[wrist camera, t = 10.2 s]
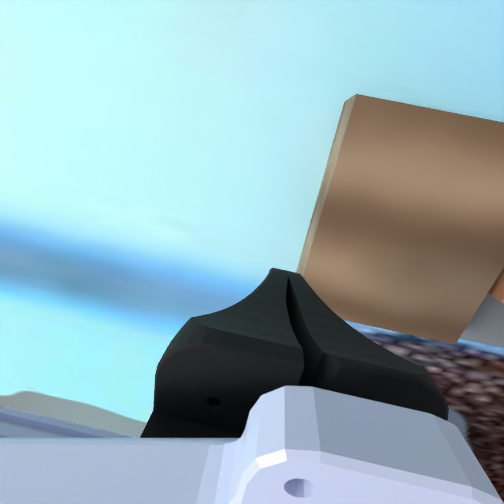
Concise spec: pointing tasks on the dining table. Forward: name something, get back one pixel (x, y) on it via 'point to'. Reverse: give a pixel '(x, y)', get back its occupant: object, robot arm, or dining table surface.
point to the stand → (408, 218)
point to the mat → (487, 323)
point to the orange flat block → (498, 287)
